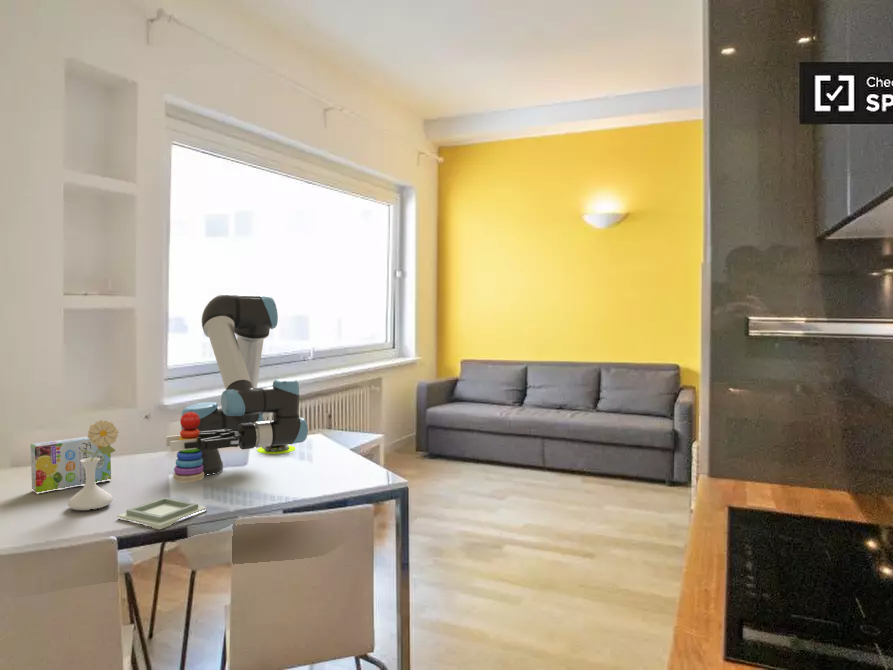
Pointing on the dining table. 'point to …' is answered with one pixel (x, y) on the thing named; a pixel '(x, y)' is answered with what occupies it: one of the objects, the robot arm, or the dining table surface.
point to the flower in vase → (91, 493)
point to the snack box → (65, 463)
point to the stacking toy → (189, 452)
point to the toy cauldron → (276, 449)
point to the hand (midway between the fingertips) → (168, 443)
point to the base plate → (161, 512)
